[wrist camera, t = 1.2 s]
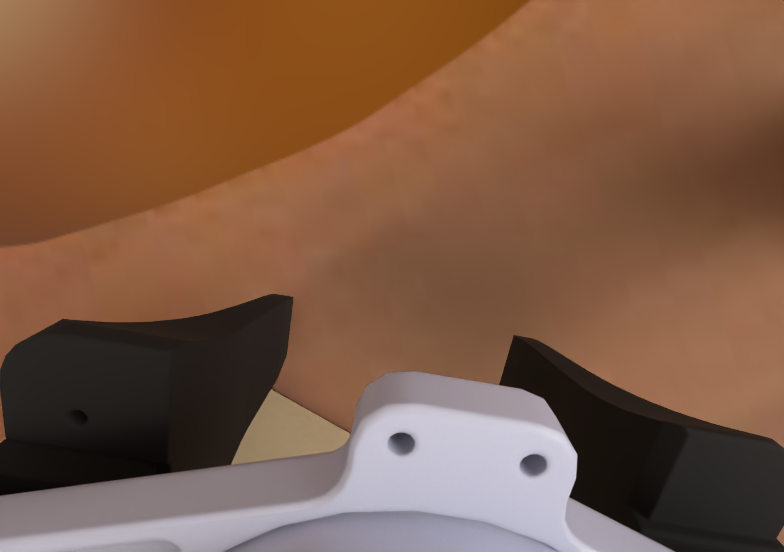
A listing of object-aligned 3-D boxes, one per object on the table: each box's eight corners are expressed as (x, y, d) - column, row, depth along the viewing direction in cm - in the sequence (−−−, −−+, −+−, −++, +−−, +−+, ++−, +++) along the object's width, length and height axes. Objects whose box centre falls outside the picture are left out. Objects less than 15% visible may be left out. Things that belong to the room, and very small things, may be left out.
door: (264, 291, 28) (177, 331, 18) (469, 407, 28) (500, 512, 18) (221, 373, 29) (115, 456, 19) (420, 485, 29) (423, 627, 19)
